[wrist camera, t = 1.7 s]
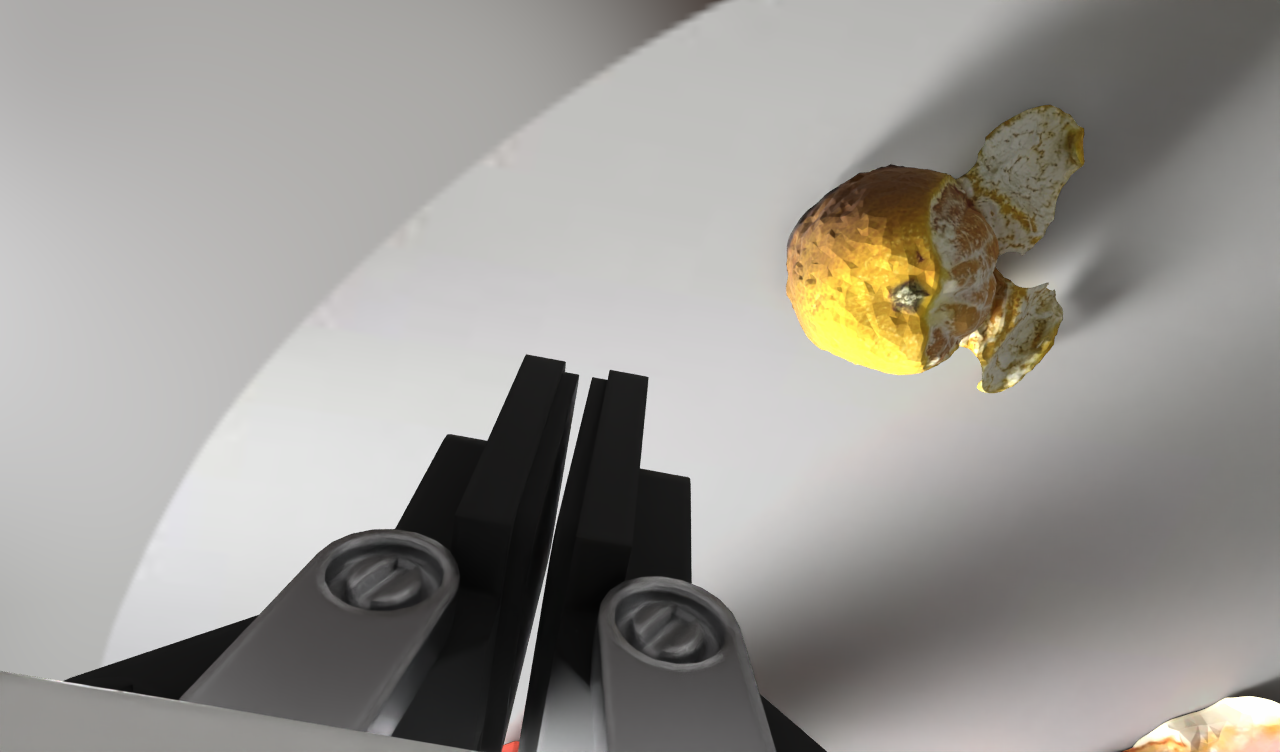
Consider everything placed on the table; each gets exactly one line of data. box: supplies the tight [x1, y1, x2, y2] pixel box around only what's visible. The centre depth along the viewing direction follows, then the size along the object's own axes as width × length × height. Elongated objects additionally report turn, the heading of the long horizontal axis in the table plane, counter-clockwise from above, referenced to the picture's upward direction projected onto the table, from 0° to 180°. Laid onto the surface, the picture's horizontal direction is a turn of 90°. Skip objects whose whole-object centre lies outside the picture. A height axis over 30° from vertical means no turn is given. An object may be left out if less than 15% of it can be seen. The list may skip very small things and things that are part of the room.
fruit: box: [786, 105, 1085, 393], centre depth 24 cm, size 8×8×4 cm
